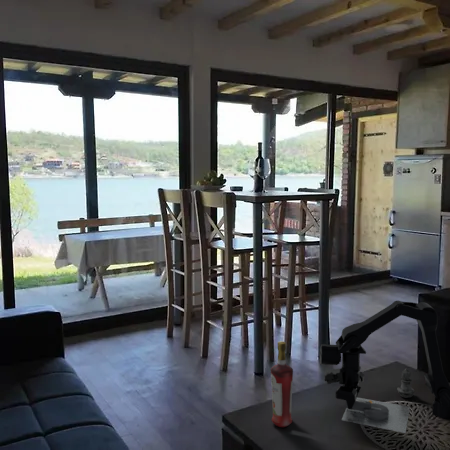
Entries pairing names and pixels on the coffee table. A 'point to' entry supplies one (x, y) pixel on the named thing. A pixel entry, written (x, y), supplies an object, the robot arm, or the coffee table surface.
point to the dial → (371, 410)
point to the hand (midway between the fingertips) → (350, 408)
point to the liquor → (281, 389)
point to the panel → (394, 421)
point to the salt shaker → (405, 385)
